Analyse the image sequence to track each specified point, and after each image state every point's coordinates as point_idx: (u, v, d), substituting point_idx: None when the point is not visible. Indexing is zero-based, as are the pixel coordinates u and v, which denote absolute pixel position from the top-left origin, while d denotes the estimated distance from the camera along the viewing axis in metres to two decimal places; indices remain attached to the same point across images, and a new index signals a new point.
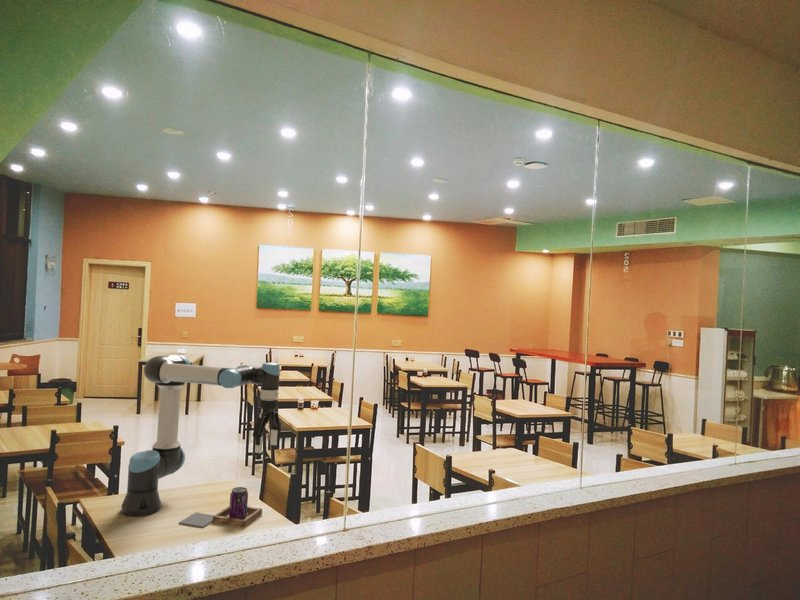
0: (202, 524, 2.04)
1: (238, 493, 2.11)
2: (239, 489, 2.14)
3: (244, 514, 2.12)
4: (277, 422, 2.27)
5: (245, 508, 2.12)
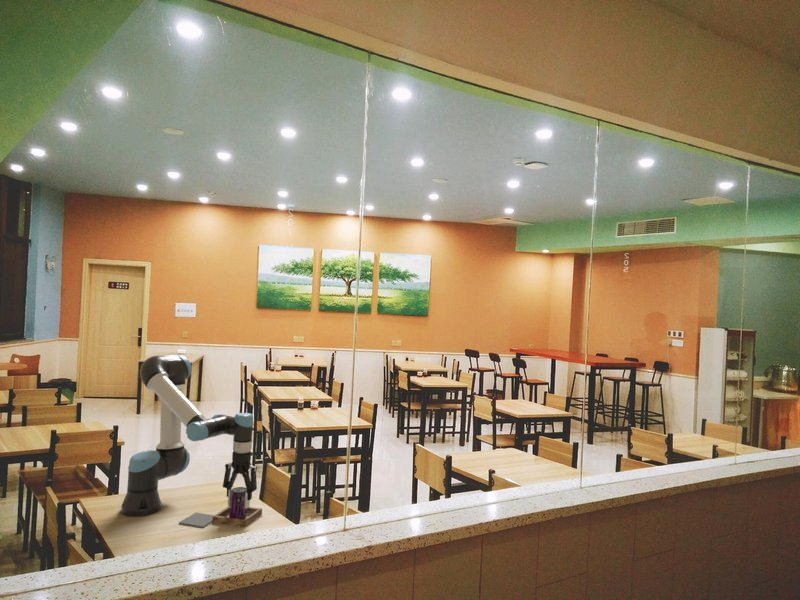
0: (202, 524, 2.04)
1: (238, 493, 2.11)
2: (239, 489, 2.14)
3: (244, 514, 2.12)
4: None
5: None
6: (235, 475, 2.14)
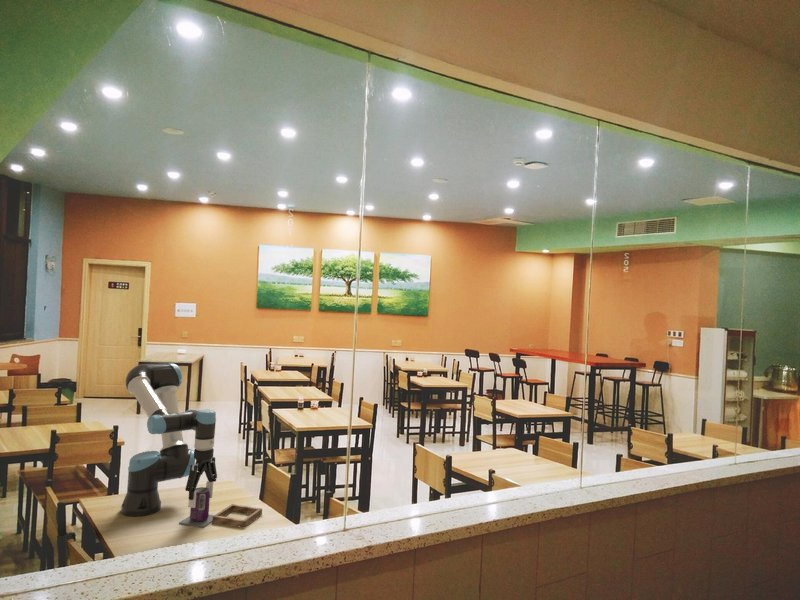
0: (202, 524, 2.04)
1: (208, 491, 2.10)
2: (199, 490, 2.09)
3: None
4: (213, 472, 2.16)
5: None
6: None
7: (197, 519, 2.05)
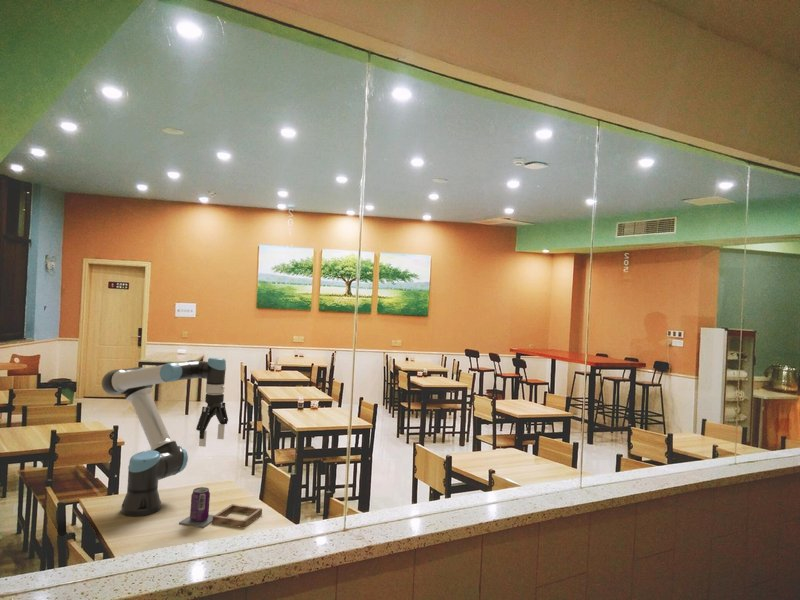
0: (202, 524, 2.04)
1: (208, 491, 2.10)
2: (199, 490, 2.09)
3: None
4: (224, 416, 2.30)
5: None
6: None
7: (197, 519, 2.05)
